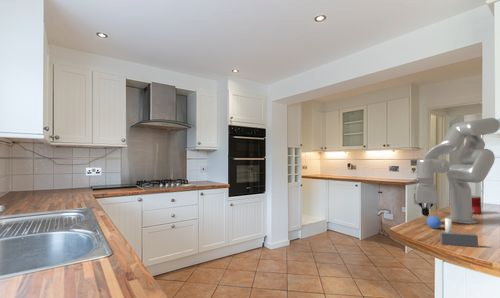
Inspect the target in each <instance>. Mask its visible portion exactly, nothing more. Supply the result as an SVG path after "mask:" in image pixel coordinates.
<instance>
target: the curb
mask: <svg viewBox="0 0 500 298" xmlns="http://www.w3.org/2000/svg"><path fill="white" fill-rule="evenodd" d="M478 238H479V237H478V235H477V234H475V233H460V232H452V233H446V232H445V231H444V232H443V231H440V232H439V240H440V241H439V242H440V244H441V245H446V246H457V247H469V248H470V247H471V248H479V239H478Z"/></svg>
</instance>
